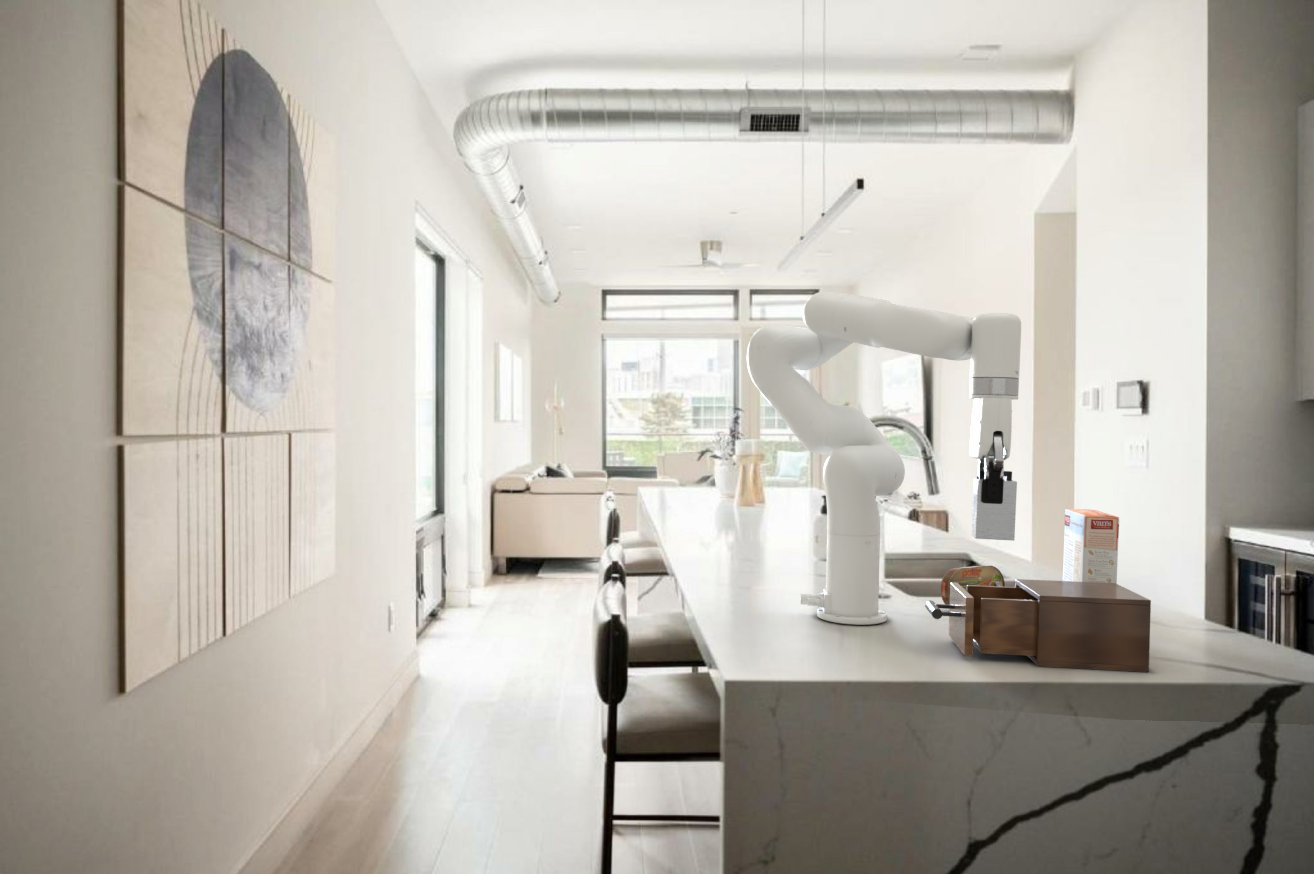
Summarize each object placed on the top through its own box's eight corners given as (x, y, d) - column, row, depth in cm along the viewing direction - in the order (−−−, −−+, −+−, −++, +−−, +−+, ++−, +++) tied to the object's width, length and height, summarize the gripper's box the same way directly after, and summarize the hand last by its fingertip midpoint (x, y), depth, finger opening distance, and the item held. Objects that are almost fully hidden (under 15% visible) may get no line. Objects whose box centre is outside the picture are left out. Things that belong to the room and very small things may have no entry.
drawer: (934, 653, 139) (935, 596, 139) (921, 633, 153) (922, 581, 152) (1065, 660, 137) (1066, 601, 137) (1040, 639, 150) (1041, 586, 150)
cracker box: (1117, 639, 155) (1121, 516, 155) (1079, 637, 156) (1082, 514, 156) (1095, 622, 169) (1098, 508, 168) (1060, 620, 170) (1063, 507, 170)
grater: (975, 538, 149) (978, 470, 148) (971, 535, 152) (974, 469, 152) (1014, 540, 148) (1017, 472, 147) (1009, 537, 151) (1012, 470, 151)
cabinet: (1037, 666, 137) (1039, 595, 136) (1013, 643, 151) (1015, 579, 151) (1149, 672, 135) (1151, 600, 134) (1113, 648, 149) (1115, 583, 149)
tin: (949, 613, 174) (950, 569, 174) (937, 610, 177) (938, 567, 177) (1005, 607, 181) (1006, 565, 181) (993, 604, 184) (994, 562, 183)
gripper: (961, 390, 158) (957, 496, 159) (979, 387, 142) (974, 506, 142) (1007, 391, 157) (1002, 498, 158) (1030, 389, 141) (1025, 508, 141)
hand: (989, 500), depth 150 cm, fingers closed on grater, 4 cm apart
